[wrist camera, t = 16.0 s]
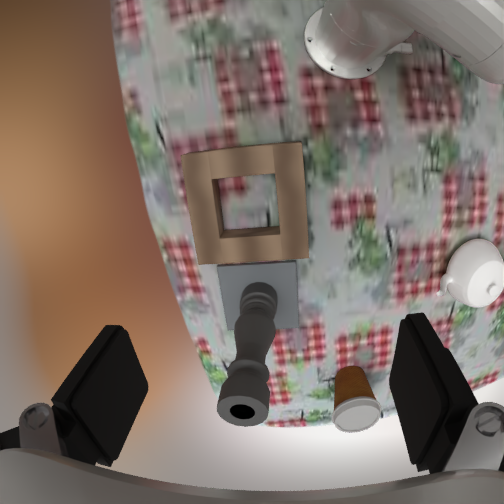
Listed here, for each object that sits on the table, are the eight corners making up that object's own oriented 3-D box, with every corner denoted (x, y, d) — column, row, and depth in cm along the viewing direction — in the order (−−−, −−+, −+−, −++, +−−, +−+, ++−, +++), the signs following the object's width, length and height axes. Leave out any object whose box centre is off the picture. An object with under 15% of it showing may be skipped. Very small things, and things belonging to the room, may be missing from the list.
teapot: (417, 302, 53) (437, 333, 44) (422, 239, 49) (447, 265, 40) (498, 286, 50) (523, 312, 41) (507, 229, 46) (537, 249, 37)
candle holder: (285, 296, 54) (282, 411, 31) (261, 318, 56) (247, 433, 33) (257, 274, 53) (236, 385, 30) (234, 298, 55) (203, 410, 32)
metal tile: (295, 260, 52) (295, 262, 52) (298, 325, 57) (298, 327, 56) (217, 264, 54) (216, 266, 53) (228, 327, 59) (227, 330, 58)
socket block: (300, 141, 45) (301, 142, 41) (307, 248, 51) (308, 258, 48) (188, 152, 47) (180, 155, 44) (204, 254, 54) (198, 264, 50)
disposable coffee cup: (327, 362, 60) (333, 407, 49) (373, 357, 59) (386, 400, 48) (327, 393, 64) (331, 436, 53) (369, 388, 62) (378, 430, 51)
